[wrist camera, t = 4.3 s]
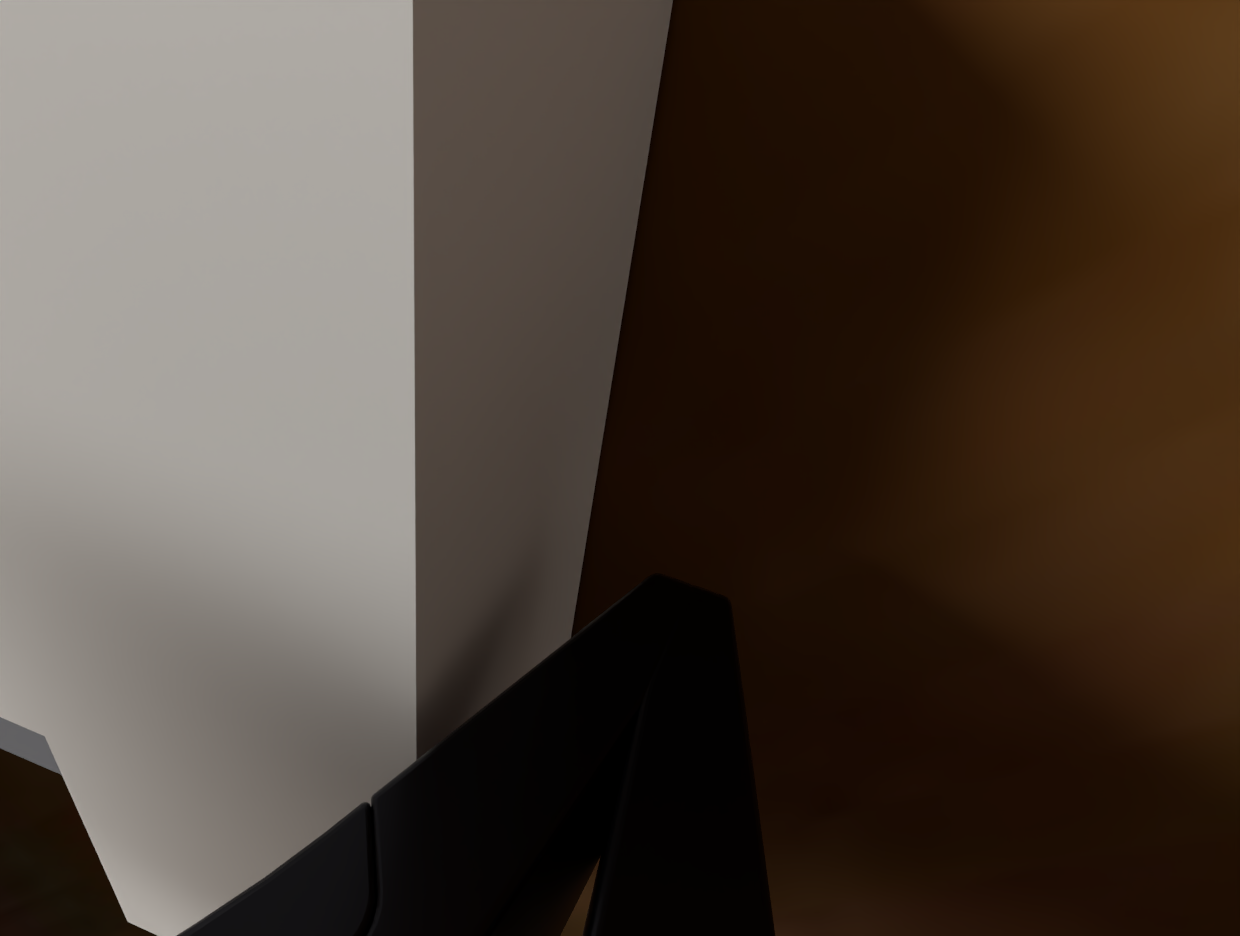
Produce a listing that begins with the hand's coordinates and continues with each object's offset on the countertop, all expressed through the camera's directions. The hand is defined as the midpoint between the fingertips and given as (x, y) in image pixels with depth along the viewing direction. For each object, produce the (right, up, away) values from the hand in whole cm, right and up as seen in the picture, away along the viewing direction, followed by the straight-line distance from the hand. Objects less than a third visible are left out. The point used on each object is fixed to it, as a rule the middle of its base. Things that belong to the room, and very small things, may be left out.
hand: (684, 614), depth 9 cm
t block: (-6, +3, +2) cm, 7 cm away
